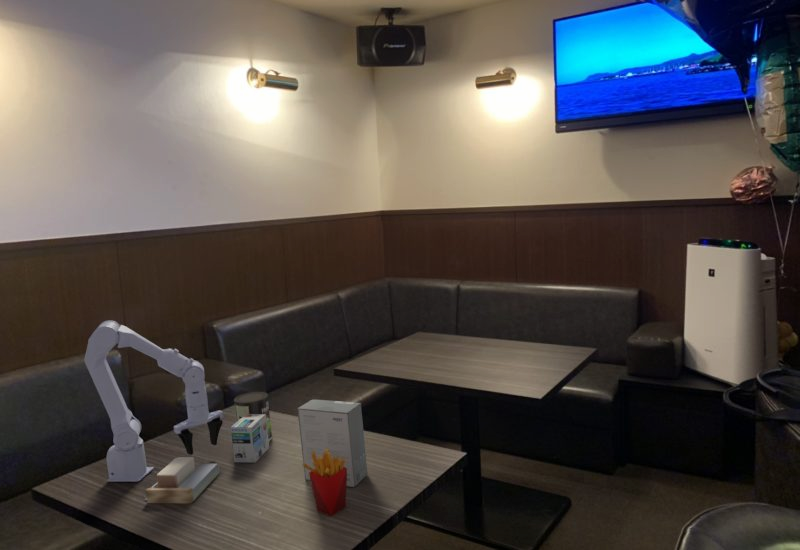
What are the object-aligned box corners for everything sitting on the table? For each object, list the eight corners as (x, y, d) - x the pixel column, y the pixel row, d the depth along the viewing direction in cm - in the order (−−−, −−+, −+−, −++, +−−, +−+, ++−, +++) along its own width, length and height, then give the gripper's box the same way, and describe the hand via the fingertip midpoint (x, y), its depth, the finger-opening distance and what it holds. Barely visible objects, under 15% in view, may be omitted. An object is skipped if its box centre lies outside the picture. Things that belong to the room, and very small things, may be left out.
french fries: (332, 498, 147) (326, 441, 145) (356, 508, 142) (350, 448, 140) (305, 515, 140) (298, 455, 138) (329, 525, 135) (323, 463, 133)
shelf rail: (147, 503, 152) (145, 490, 151) (149, 500, 153) (148, 487, 152) (191, 503, 150) (189, 490, 149) (193, 500, 151) (192, 487, 150)
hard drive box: (368, 474, 158) (362, 402, 155) (354, 488, 151) (348, 413, 149) (319, 467, 165) (312, 398, 162) (303, 480, 158) (296, 408, 155)
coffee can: (275, 432, 192) (271, 390, 190) (268, 445, 182) (263, 401, 180) (243, 434, 192) (238, 392, 190) (234, 448, 182) (229, 403, 180)
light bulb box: (255, 463, 170) (251, 427, 169) (233, 463, 171) (229, 427, 170) (270, 447, 181) (266, 413, 179) (249, 447, 182) (245, 413, 180)
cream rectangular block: (159, 496, 155) (156, 474, 154) (179, 477, 165) (176, 457, 164) (177, 496, 154) (174, 474, 153) (196, 477, 164) (193, 457, 163)
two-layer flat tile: (176, 500, 152) (174, 489, 151) (203, 472, 166) (202, 462, 166) (193, 500, 151) (192, 489, 151) (219, 472, 166) (218, 462, 165)
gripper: (212, 394, 179) (216, 437, 181) (166, 409, 169) (171, 454, 170) (225, 398, 175) (229, 442, 176) (178, 414, 164) (184, 460, 166)
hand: (202, 448), depth 173 cm, fingers open, 7 cm apart
